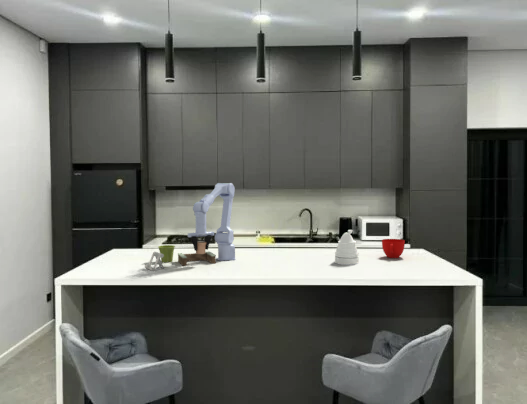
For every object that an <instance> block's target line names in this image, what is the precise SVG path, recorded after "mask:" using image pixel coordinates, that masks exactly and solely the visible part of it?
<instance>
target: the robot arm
mask: <svg viewBox="0 0 527 404" xmlns="http://www.w3.org/2000/svg"><path fill="white" fill-rule="evenodd" d="M235 188H236V187H235V186H234V184H233V182H229V183H223V182H222V183H221V182H217V183H216V184H215V185H214V189H213V190H212V191H211V192H210V193H207V194H204V196H203V197H202V198H201V199H200V200H199V201H197V202H195V203H193V207H192V211H193V212H194V214H193V215H194V216H195V219H194V220H195V232H190V233H189V232H188V233H187V237H188V238H189V239H190V241H191V243H192V245H193V249H194V251H195V252H196V251H197V241H199V237H203V238H204V241H205V242H207V243H206V248H205V251H208V250H209V247H210V243H211V241H212V239H213V236H214V241H215V243H216V245H217V257H216V260H217V261H235V260H236V248H235V247H236V246H235V244H234V243H233V242H234V240H235V237H234V236H235V235H234V230H233V229H232V228H231V221H232V220H231V219H232V218H231V217H232V211H233V210H232V209H233V200H234V197H235V193H236V192H235V191H236V189H235ZM218 196H219V197H220V198H221V199H222V200H223V203H222V212H221V219H220V221H221V222H220V227H219V228H217V229H216V231H207V213H208V212H209V208H210V207H211V206H212V204H213V203H214V202H215V199H216V198H217V197H218Z"/></svg>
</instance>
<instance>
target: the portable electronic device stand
mask: <svg viewBox="0 0 527 404" xmlns="http://www.w3.org/2000/svg"><path fill="white" fill-rule="evenodd" d="M163 256H164V255H163V254H162V253H160V252H157V251H153V252H152V255H151V258H150V260H149V263H148V264H144V269H147V270H150V271H152V272H154V271H155V270H156V268H157V266H159V268H160V269H161V268H162V269H165V267H164V265H163V262H161V258H163ZM154 257H155V262H154V265H153V266H151V265H152V263H153V259H154Z"/></svg>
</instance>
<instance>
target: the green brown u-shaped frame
mask: <svg viewBox="0 0 527 404" xmlns="http://www.w3.org/2000/svg"><path fill="white" fill-rule="evenodd" d="M216 256H217V254H215V253H213V252H212V251H208V250H207V251H205V254H197V253H196V252H193V253H183V252H181V253H179V252H178V253H177V262H179V264H180V265H182V266H187V265H188V263H187V262H196V261H197V262H199V261H200V262H202V261H208V262H209V263H211V264H216V260H217V259H216V258H217V257H216Z"/></svg>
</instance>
